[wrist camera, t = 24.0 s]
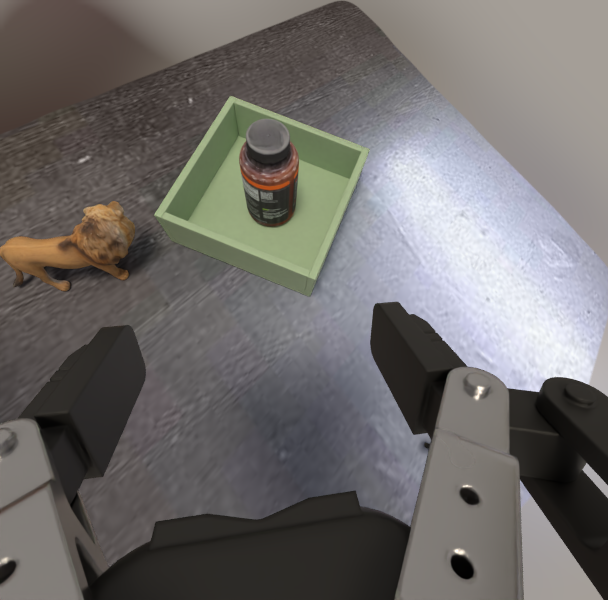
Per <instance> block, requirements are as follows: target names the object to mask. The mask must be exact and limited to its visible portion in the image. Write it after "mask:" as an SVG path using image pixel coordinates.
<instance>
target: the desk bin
mask: <svg viewBox="0 0 608 600" xmlns="http://www.w3.org/2000/svg"><path fill="white" fill-rule="evenodd" d="M260 119H274V120H277V121H279V122H281V123H282V124H283V125H285V126H286V128H287V129H288V131H289V134H290V141H291V142H292V143H293V145H294V146H295V148H296V150H297V152H298V156H299V172H298V185H297V198H296V207H295V212H294V214H293V216H292V217H291V218H290V219H289V220H288V221H287V222H286V223H284V224H282V225H279V226H273V227H271V226H265V225H262V224H259V223H258V222H256V221H255V220H254V219H253V218H252V217H251V215H250V214H249V212H248V208H247V204H246V198H245V192H244V187H243V181H242V176H241V170H240V164H239V154H240V150H241V148H242V146H243V144H244V143H245V142H246V132H247V129H248V127H249V126H250V125H251V124H252V123H254V122H255V121H257V120H260ZM369 150H370V149H368V148H365V147H362V146H360V145H357V144H355V143H352V142H349V141H347V140H344V139H342V138H339V137H336V136H334V135H331V134H329V133H326V132H323V131H321V130H318V129H316V128H313V127H310V126H308V125H305V124H303V123H300V122H297V121H295V120H292V119H289V118H287V117H284V116H282V115H279V114H276V113H274V112H271V111H269V110H266V109H263V108H261V107H258V106H256V105H253V104H250V103H248V102H245V101H243V100H240V99H236V98H235V97H232V96H230V97H229V99H228V100H227V102H226V104H225V105H224V107H223V108H222V110H221V111H220V113H219V114H218V116H217V118H216V119H215V121H214V122H213V124H212V125H211V127H210V129H209V130H208V132H207V133H206V135H205V136H204V138H203V139H202V141H201V143H200V144H199V146H198V147H197V149H196V150H195V152H194V154H193V155H192V157H191V158H190V160H189V161H188V163H187V164H186V166H185V168H184V169H183V171H182V172H181V174H180V175H179V177H178V179H177V180H176V182H175V183H174V185H173V186H172V188H171V189H170V191H169V193H168V194H167V196H166V197H165V199H164V200H163V202H162V204H161V205H160V207H159V208H158V210H157V211H156V213H155V214H154V215H155V217H156V218H157V220H158V221H159V223H160V224H161V226H162V227H163V229H164V230H165V232H166V233H167V235H168V236H169V238H170V239H171V241H173V242H176V243H178V244H181V245H183V246H186V247H188V248H191V249H193V250H195V251H198V252H200V253H203V254H205V255H208V256H210V257H213V258H215V259H218V260H220V261H223V262H225V263H228V264H230V265H232V266H235V267H237V268H240V269H242V270H245V271H247V272H250V273H252V274H255V275H257V276H260V277H262V278H265V279H267V280H269V281H272V282H274V283H277V284H279V285H282V286H284V287H287V288H289V289H292V290H294V291H297V292H299V293H301V294H304V295H306V296H309V297H310V296H311V293H312V291H313V288H314V286H315V283H316V281H317V279H318V276H319V274H320V271H321V269H322V267H323V264H324V262H325V259H326V257H327V255H328V252H329V250H330V247H331V245H332V243H333V240H334V238H335V235H336V233H337V230H338V228H339V226H340V223H341V221H342V218H343V216H344V214H345V211H346V209H347V206H348V204H349V202H350V199H351V197H352V194H353V192H354V190H355V187H356V185H357V182H358V180H359V177H360V174H361V172H362V169H363V166H364V164H365V161H366V158H367V156H368V153H369Z"/></svg>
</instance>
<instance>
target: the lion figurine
mask: <svg viewBox="0 0 608 600" xmlns="http://www.w3.org/2000/svg"><path fill="white" fill-rule="evenodd" d="M83 211H84V213H85V216H84V217H83V219H82V221H83V222H82V223H81V224H78V225H77V226H75V228H74V230H73V233H72V235H71V236H62V237H55V238H50V239H32V238H28V237H21V236H20V237H14V238H12V239H10V240H8V241H7V242H6V244H5V245H3V246H1V248H0V256H1V257H2V258H3V259H4V260H5V261H6V262H7V263H8V264H9V265H10V266H11V267H12V268H13V269H14V270H15V272H16V276H17V277H16V279H15V281H14V284H13V287H16V286H20V285H22V283H23V279H24V277H23V274H22V271H23V272H25V273H28V274H31V275H34V276H36V277H38V278H40V279H41V280H42V281H43V282H45V283H48V284H50V285H52V286H54V287H56V288H57V289H59V290H61V291H67V290H69V289H70V283H69V282H68V281H65V280H62V281H61V280H56V279H53V278H51V277H50V276H49V275H48V274H47V272H46V270H45V269H44V267H45V266H51V267H57V268H64V269H76V268H82V267H86V266H90V265H93V266H95V267H96V268H99V269H102V270H104V271H106V272H108V273H110V274H111V275H113V276H115V277H116V278H118V279H120V280H125V279H127V278H128V276H129V273H128V271H127V270H122V269H121V268H117V267H116V266H115V264H117V263H118V262H119V260H120V259H121V258H124V257H125V256H126V254H128V247H129V246H130V245H131V243H132V241H133V238H134V234H135V226H134V223H133V222H131V221H130V220H129V219H128V218H127V217H126V216H124V215H123V214H124V209H123V208H122V206H121V205H119V203H118V202H115V201H113V202H111V203H110V204H109V205H108V206H104V205H102V204H98V205H96V206H92V207H87V208H85V209H83Z"/></svg>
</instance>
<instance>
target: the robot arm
mask: <svg viewBox="0 0 608 600" xmlns="http://www.w3.org/2000/svg"><path fill="white" fill-rule="evenodd" d="M370 345H371V352H372V356H373V358H374V360H375V362H376V364H377V366H378V368H379V370H380V372H381V374H382V376H383V377H384V379H385V381H386V383H387V385H388V387H389V389H390V391H391V393H392V395H393V397H394V398H395V400H396V402H397V404H398V406H399V408H400V410H401V412H402V414H403V416H404V418H405V419H406V421H407V423H408V425H409V427H410V429H411V431H412V433H413V435H415V434H422V433H428V435H429V436H430V438H431V443H430V447H429V451H428V456H427V460H426V464H425V468H424V472H423V476H422V480H421V485H420V489H419V493H418V497H417V501H416V505H415V509H414V513H413V517H412V521H411V526H410V527H409V526H408V525H406V524H405V523H404V522H402V521H400V520H398V519H396V518H395V517H393V516H391V515H388V514H386V513H383V512H381V511H378V510H374V509H371V508H367V507H360V505H359V501H358V498H357V494H356V491H350V492H344V493H337V494H331V495H324V496H318V497H312V498H308V499H305V500H303V501H301V502H299V503H296V504H294V505H292V506H290V507H288V508H285V509H283V510H281V511H279V512H276V513H274V514H272V515H270V516H267V517H265V518H263V519H258V520H253V519H245V518H237V517H229V516H221V515H213V514H202V515H196V516H190V517H183V518H177V519H170V520H164V521H158V522H156V523H155V527H154V531H153V535H152V538H151V541H150V542H148V543H146V544H144V545H142V546H140V547H138V548H137V549H135V550H133V551H131V552H130V553H128V554H127V555H125V556H124V557H122V558H121V559H120V560H118V561H117V562H116V563H114V564H113V565H112V566H111V567H109V565H108V563H107V561H106V559H105V557H104V555H103V552H102V550H101V547H100V544H99V542H98V539H97V536H96V534H95V531H94V528H93V526H92V523H91V520H90V518H89V515H88V512H87V510H86V507H85V504H84V502H83V499H82V496H81V495H80V493H79V491H78V489H79V487H80V485H81V483H82V481H83V479H89V478H96V477H103V476H104V473H105V471H106V469H107V466H108V464H109V462H110V460H111V457H112V455H113V453H114V450H115V448H116V446H117V443H118V441H119V439H120V437H121V434H122V432H123V430H124V427H125V425H126V423H127V421H128V418H129V416H130V414H131V411H132V409H133V407H134V405H135V402H136V400H137V398H138V395H139V393H140V391H141V389H142V386H143V384H144V381H145V376H146V369H145V363H144V360H143V357H142V354H141V351H140V348H139V345H138V342H137V339H136V336H135V333H134V331H133V329H132V327H131V326H129V325H125V326H114V327H103V328H101V329H100V330H99V332H98V333H97V334H96V335H95V337H94V338H93V339H92V341H91V342H90V343H89V344H88V345H84V346H82V347H81V348H80V349H78V350H77V351H75V352H74V353H73V354H71V355H70V356H69V357H68V358H67V359H66V360H65V361H64V363H63V364H62V365H61V366H60V367H59V371H56V372H55V374H54V375H53V376H52V377H51V378H50V382H47V383H46V384H45V386H44V387H43V388H42V389H41V391H40V392H39V393H38V394H37V395H36V397H35V398H34V399H33V400H32V402H31V403H30V404H29V405H28V406H27V408H26V409H25V410H24V411H23V412H22V414H21V415H20V416H19V417H18V419H13V420H9V421H6V422H3V423H0V600H524V596H523V595H524V593H523V563H522V535H521V504H520V480H521V482H522V483H523V484H524V486H525V487H526V489H527V490H528V492H529V493H530V495H531V496H532V497H533V499H534V500H535V502H536V503H537V504H538V506H539V507H540V509H541V510H542V512H543V513H544V515H545V516H546V517H547V519H548V520H549V522H550V523H551V525H552V526H553V528H554V529H555V530H556V532H557V533H558V535H559V536H560V538H561V539H562V540H563V542H564V543H565V545H566V546H567V548H568V549H569V550H570V552H571V553H572V555H573V556H574V558H575V559H576V561H577V562H578V563H579V565H580V566H581V568H582V569H583V571H584V572H585V573H586V575H587V576H588V578H589V579H590V580H591V582H592V583H593V585H594V586H595V587H596V589H597V591H598V592H599V593H600V595H601V596H602V598H603V599H604V600H608V498H607V497H606V496H605V495H604V494H603V493H602V492H601V490H600V489H599V488H598V487H597V486H596V485H595V484H594V483H593V481H592V480H591V479H590V478H589V477H588V476H587V475H586V474H585V473H584V471H583V470H582V469H583V468H584V466H585V464H586V463H588V464H589V466H590V467H591V468H592V469H593V470H594V471H595V472H596V473H597V474H598V475H599V476H600V477H601V478H602V479H603V480H604V482H605V483H606V484H607V485H608V397H607V396H606V395H605V394H603V393H602V392H600V391H599V390H597V389H596V388H594V387H592V386H590V385H588V384H585V383H583V382H580V381H577V380H573V379H569V378H562V377H554V378H549V379H547V380H546V381H545V382H544V383H543V385H542V387H541V389H540V392H533V391H525V390H516V389H509V388H507V387H506V386H505V384H504V383H503V382H502V381H501V380H500V379H499V378H497V377H496V376H494V375H493V374H491V373H489V372H486V371H484V370H481V369H478V368H473V367H467V366H466V364H465V363H464V362H463V361H462V360H461V359H460V358H459V357H458V356H457V354H456V353H455V352H454V351H453V350H452V349H451V348H450V347H449V346H448V344H447V343H446V342H445V341H442V338H441V337H440V336H439V334H438V333H435V330H434V329H433V328H432V327H431V326H430V325H429V323H428V322H427V321H425V320H423V319H421V318H420V317H418V316H416V315H414V314H411V315H409V314H408V313H407V312H406V310H405V309H404V308H403V307H402V306H401V304H400V303H399V302H387V303H377V304H375V306H374V309H373V319H372V329H371V340H370Z"/></svg>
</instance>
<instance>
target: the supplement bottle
mask: <svg viewBox="0 0 608 600" xmlns="http://www.w3.org/2000/svg"><path fill="white" fill-rule="evenodd" d="M239 164H240V170H241V176H242V181H243V187H244V192H245V198H246V204H247V208H248V212H249V214H250V215H251V217H252V218H253V219H254V220H255V221H256V222H258V223H259V224H262V225H265V226H271V227H273V226H279V225H282V224H284V223H286V222H287V221H288V220H289V219H290V218H291V217H292V216H293V214H294V212H295V207H296V198H297V185H298V172H299V156H298V152H297V150H296V148H295V146H294V145H293V143H292V142H291V141H290V134H289V131H288V129H287V128H286V126H285V125H283V124H282V123H281V122H279V121H277V120H274V119H260V120H257V121H255V122H254V123H252V124H251V125H250V126H249V127H248V129H247V132H246V142H245V143H244V144H243V146H242V148H241V150H240V154H239Z"/></svg>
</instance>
